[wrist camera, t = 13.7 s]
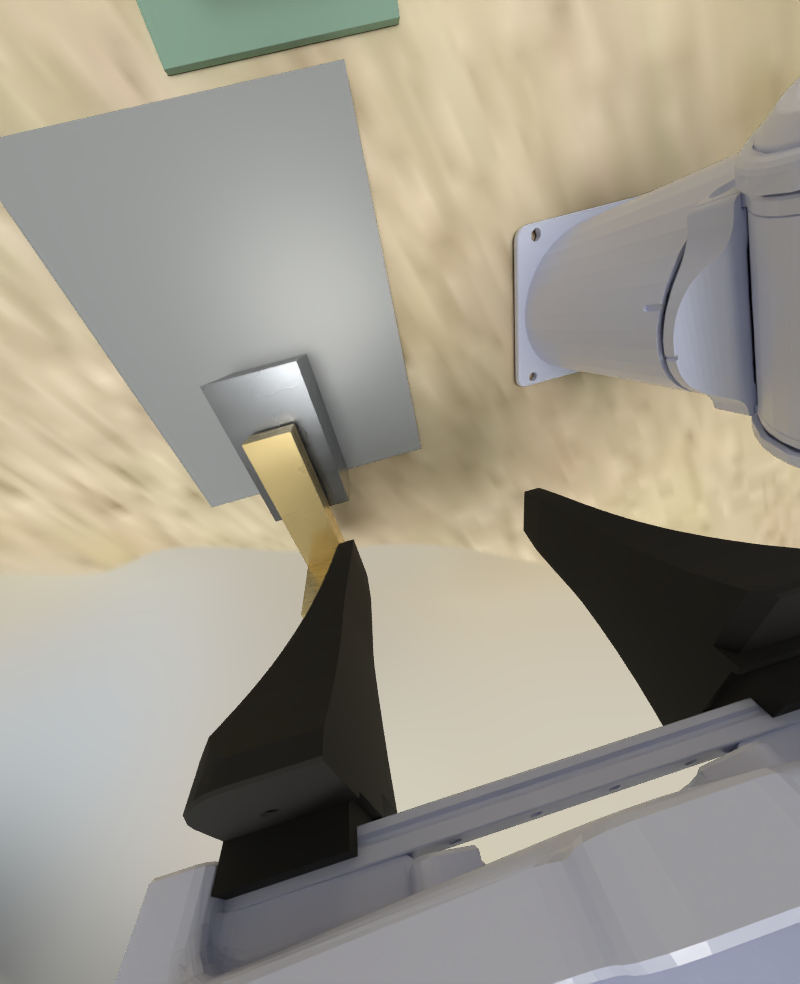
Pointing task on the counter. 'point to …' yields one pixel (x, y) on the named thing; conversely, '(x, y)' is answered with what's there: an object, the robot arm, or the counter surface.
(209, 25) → the pad
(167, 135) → the housing plate
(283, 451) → the latch bolt
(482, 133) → the counter surface
